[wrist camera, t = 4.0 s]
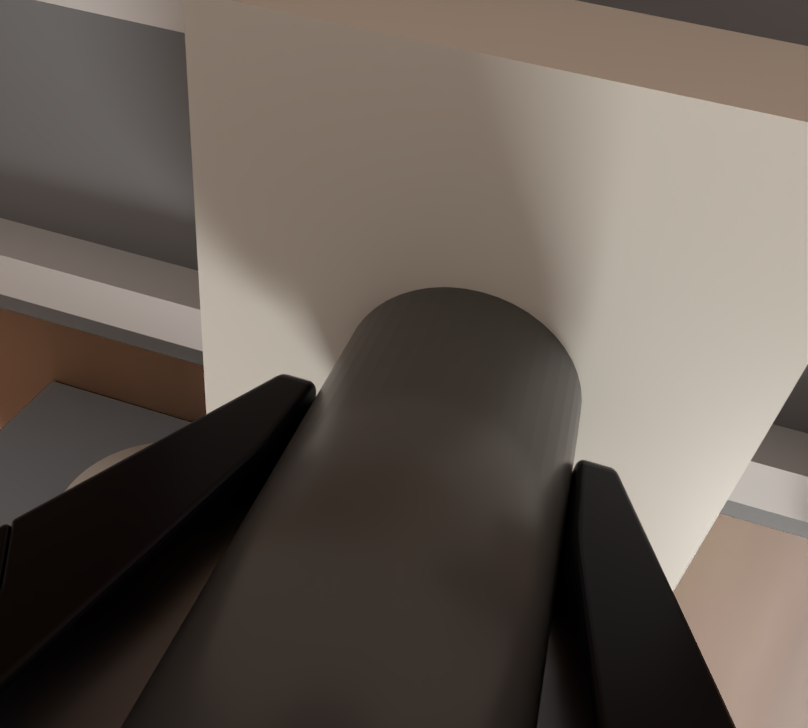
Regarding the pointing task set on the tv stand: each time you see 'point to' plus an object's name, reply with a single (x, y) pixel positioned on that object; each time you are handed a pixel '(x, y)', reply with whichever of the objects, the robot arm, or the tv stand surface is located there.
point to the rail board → (174, 194)
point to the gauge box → (69, 443)
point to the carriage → (472, 329)
